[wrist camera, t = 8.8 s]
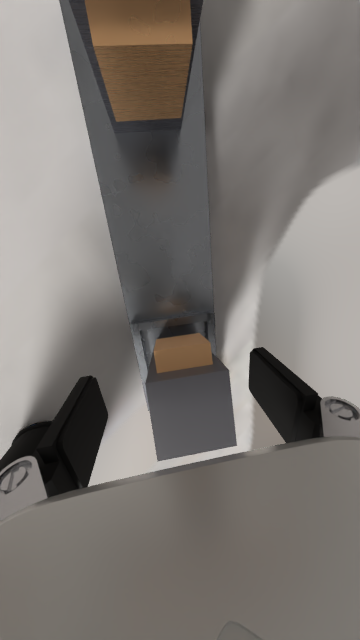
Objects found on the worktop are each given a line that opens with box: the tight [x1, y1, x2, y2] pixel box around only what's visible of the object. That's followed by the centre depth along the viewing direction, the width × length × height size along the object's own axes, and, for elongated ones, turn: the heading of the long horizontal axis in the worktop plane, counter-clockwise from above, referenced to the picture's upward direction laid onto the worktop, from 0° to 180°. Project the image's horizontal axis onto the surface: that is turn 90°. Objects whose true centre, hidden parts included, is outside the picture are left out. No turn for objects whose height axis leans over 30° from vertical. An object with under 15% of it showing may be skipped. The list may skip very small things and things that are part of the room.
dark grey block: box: [145, 333, 237, 461], centre depth 12 cm, size 5×4×7 cm
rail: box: [59, 0, 216, 411], centre depth 11 cm, size 28×7×9 cm, turn 6°
